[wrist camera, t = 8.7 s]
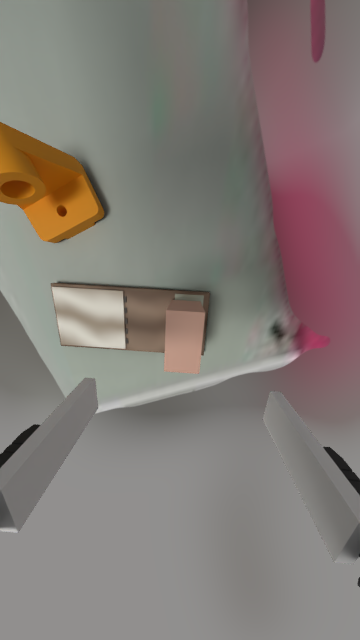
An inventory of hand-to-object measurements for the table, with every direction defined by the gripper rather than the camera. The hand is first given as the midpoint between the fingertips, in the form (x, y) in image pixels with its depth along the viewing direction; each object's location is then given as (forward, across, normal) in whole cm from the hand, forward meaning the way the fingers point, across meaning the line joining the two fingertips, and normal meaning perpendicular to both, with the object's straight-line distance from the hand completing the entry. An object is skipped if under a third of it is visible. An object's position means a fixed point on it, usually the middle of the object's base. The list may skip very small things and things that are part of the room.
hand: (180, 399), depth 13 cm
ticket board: (+20, -10, 0) cm, 22 cm away
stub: (+18, 0, 0) cm, 18 cm away
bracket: (+20, -20, +18) cm, 34 cm away
